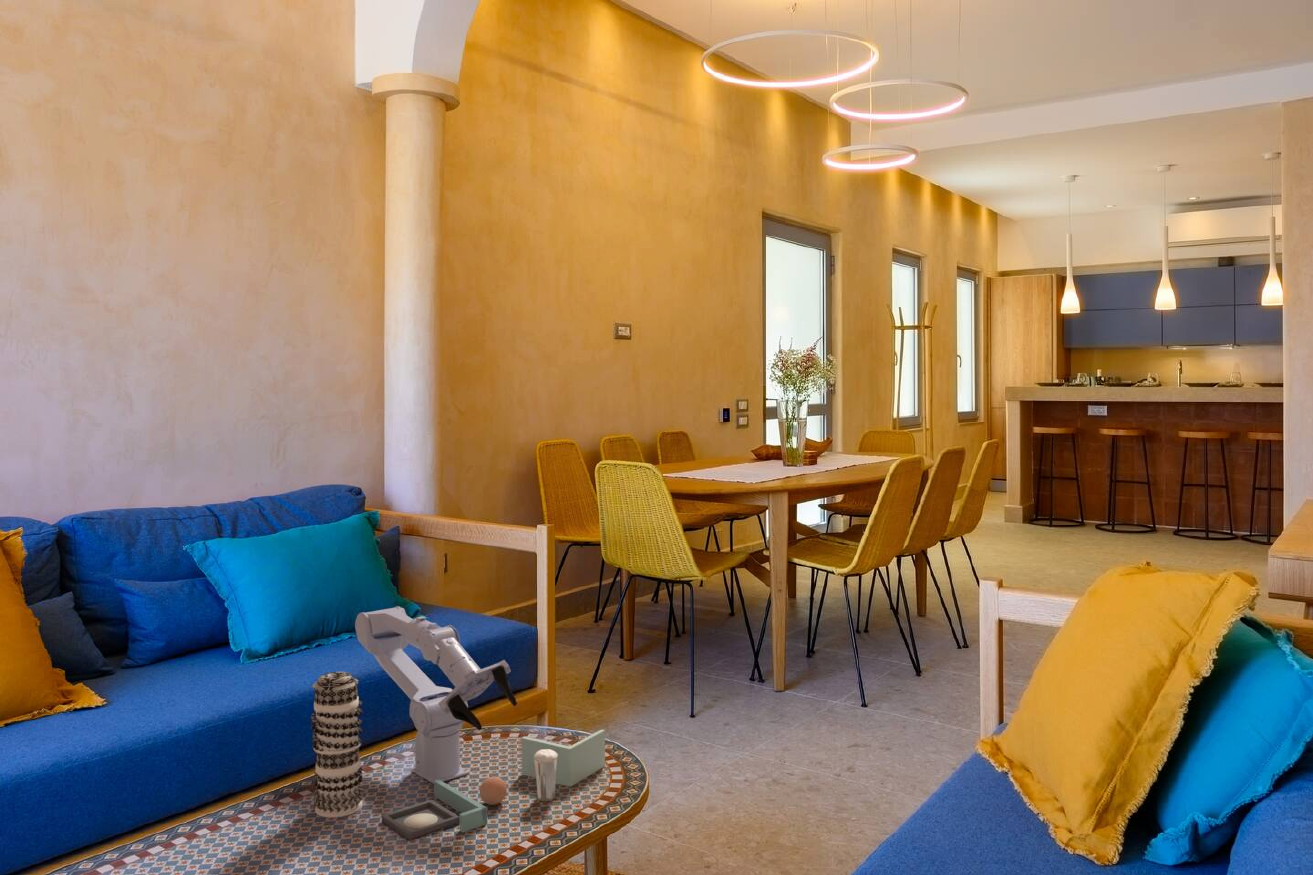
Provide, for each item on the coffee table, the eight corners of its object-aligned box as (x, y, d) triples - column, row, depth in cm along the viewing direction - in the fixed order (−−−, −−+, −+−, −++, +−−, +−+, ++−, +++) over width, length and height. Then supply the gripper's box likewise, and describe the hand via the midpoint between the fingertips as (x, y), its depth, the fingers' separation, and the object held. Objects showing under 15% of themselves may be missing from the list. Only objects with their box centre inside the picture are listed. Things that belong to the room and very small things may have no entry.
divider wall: (415, 802, 186) (414, 786, 186) (438, 794, 189) (438, 779, 189) (462, 832, 173) (462, 815, 173) (487, 823, 177) (486, 807, 177)
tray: (381, 821, 178) (381, 815, 178) (431, 805, 184) (431, 799, 184) (408, 840, 170) (408, 834, 170) (459, 823, 177) (459, 816, 177)
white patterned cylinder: (374, 806, 184) (371, 674, 183) (329, 823, 177) (325, 685, 176) (348, 792, 190) (345, 664, 189) (303, 808, 184) (300, 675, 182)
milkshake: (558, 804, 185) (557, 751, 184) (531, 801, 186) (530, 749, 185) (565, 794, 189) (564, 742, 189) (538, 792, 190) (538, 741, 190)
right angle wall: (605, 766, 203) (604, 730, 203) (570, 786, 193) (570, 749, 192) (558, 754, 209) (557, 720, 209) (522, 774, 199) (521, 737, 199)
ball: (474, 803, 185) (474, 777, 185) (497, 795, 189) (497, 769, 189) (489, 811, 182) (488, 785, 181) (512, 803, 185) (511, 777, 185)
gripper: (423, 678, 186) (457, 724, 177) (488, 636, 192) (525, 678, 183) (432, 700, 191) (467, 746, 182) (496, 658, 197) (533, 701, 188)
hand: (497, 714), depth 183 cm, fingers open, 7 cm apart
